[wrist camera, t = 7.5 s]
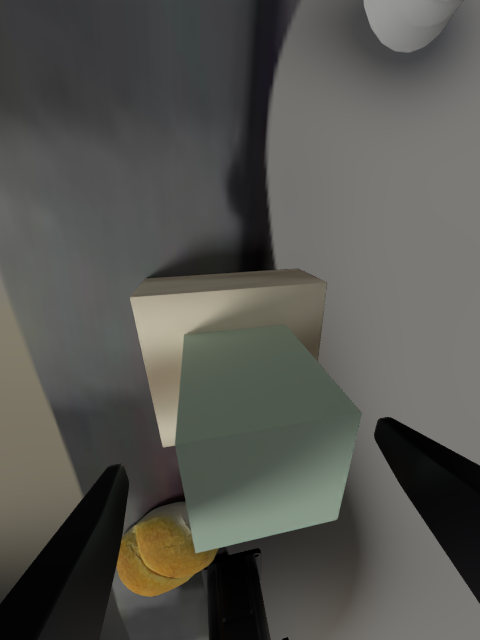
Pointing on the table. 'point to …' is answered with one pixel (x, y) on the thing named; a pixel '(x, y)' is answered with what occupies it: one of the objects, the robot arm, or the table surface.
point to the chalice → (409, 21)
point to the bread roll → (160, 552)
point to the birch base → (217, 320)
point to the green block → (259, 436)
